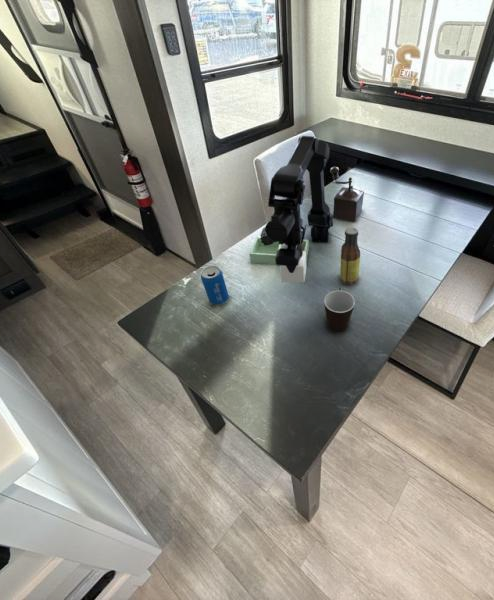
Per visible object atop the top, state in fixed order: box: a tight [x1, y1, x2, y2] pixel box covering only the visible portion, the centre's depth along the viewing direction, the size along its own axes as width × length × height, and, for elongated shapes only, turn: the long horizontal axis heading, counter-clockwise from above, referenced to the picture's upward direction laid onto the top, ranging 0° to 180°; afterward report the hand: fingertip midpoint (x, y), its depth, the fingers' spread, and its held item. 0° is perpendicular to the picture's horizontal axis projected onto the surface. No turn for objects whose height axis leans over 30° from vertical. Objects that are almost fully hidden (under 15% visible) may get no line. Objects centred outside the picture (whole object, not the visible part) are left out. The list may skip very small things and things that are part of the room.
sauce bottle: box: [339, 226, 361, 285], centre depth 101 cm, size 6×6×20 cm
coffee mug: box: [323, 286, 356, 333], centre depth 92 cm, size 12×9×10 cm
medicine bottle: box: [279, 243, 307, 284], centre depth 94 cm, size 7×7×12 cm
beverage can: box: [200, 265, 230, 306], centre depth 99 cm, size 6×6×12 cm
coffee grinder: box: [329, 166, 365, 222], centre depth 132 cm, size 16×11×18 cm
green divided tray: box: [249, 236, 310, 265], centre depth 117 cm, size 11×20×4 cm, turn 83°
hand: (293, 264), depth 96 cm, fingers closed on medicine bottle, 7 cm apart
